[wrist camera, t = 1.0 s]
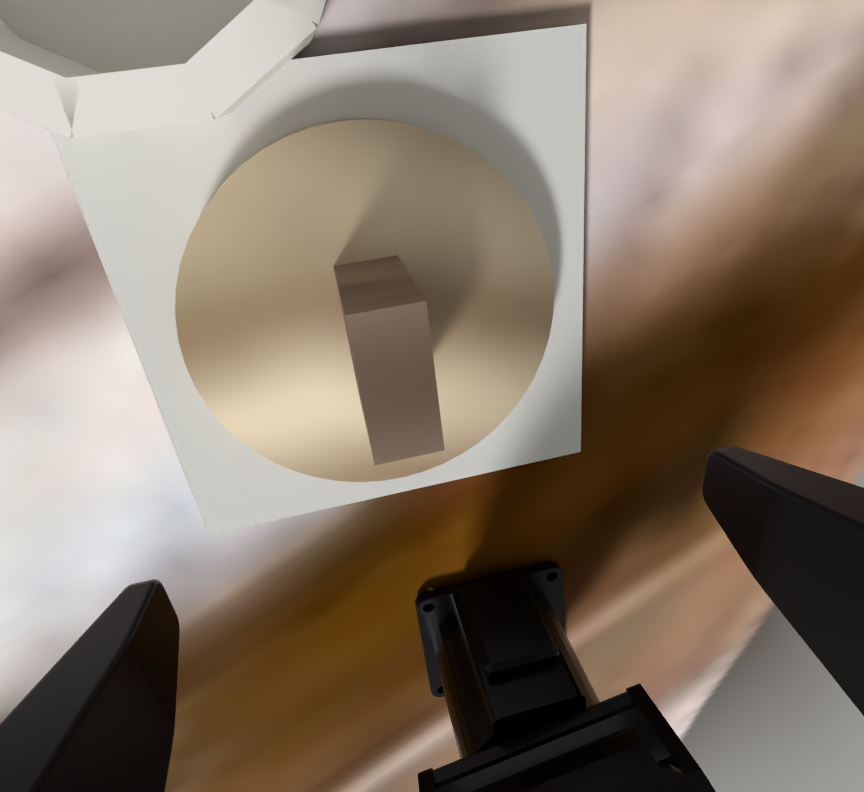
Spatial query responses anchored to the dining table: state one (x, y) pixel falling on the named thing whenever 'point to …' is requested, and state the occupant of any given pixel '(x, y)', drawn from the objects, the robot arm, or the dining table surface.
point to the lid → (364, 300)
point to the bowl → (142, 59)
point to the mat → (320, 103)
